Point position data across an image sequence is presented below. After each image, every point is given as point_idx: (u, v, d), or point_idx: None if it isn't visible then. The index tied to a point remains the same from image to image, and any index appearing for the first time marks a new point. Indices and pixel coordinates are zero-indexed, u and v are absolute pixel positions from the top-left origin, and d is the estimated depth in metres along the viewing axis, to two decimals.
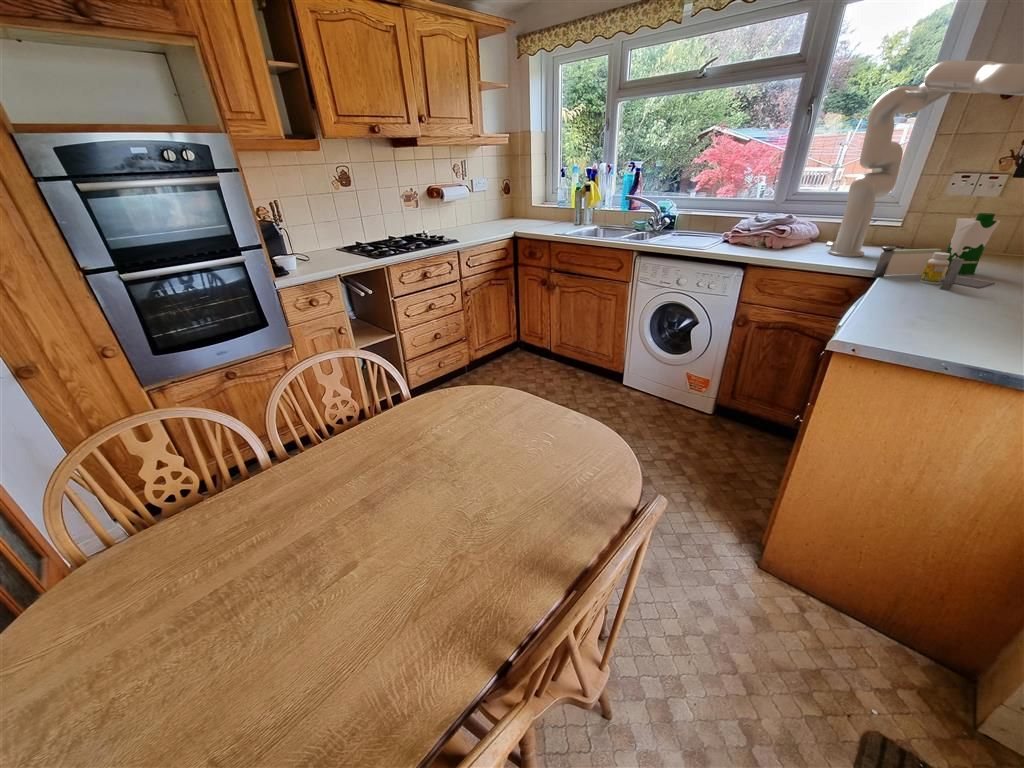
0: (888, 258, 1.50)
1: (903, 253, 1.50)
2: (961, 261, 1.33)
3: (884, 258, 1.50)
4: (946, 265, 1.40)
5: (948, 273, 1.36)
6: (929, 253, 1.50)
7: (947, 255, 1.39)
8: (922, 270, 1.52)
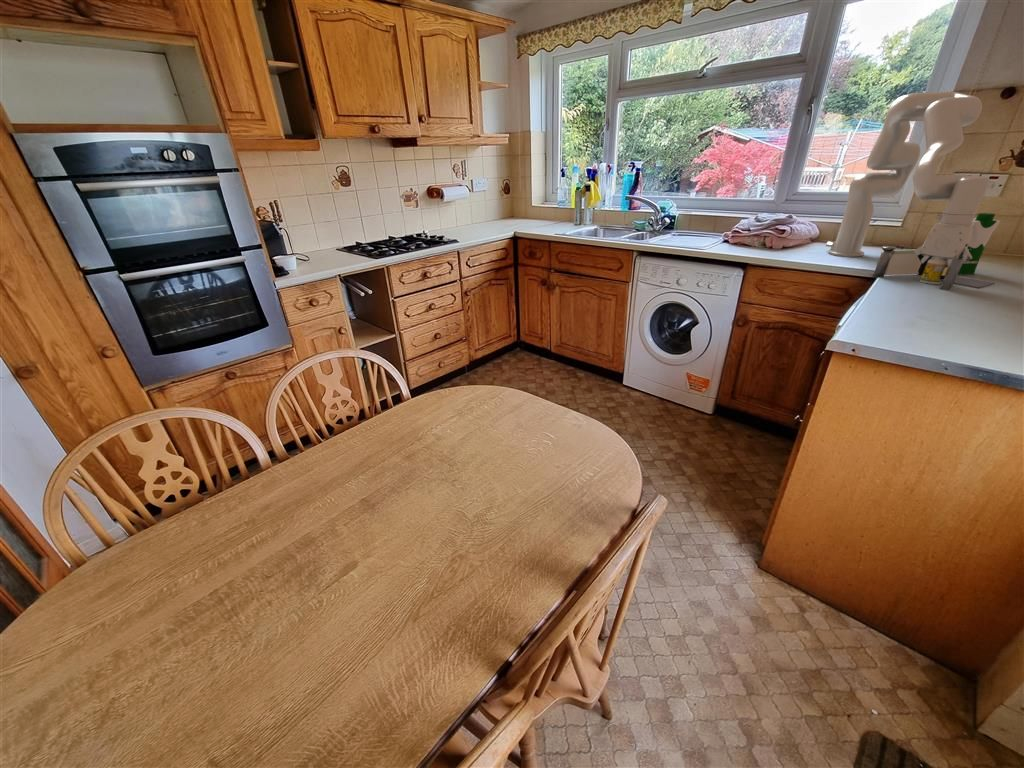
0: (888, 258, 1.50)
1: (903, 253, 1.50)
2: (961, 261, 1.33)
3: (884, 258, 1.50)
4: (946, 265, 1.40)
5: (948, 273, 1.36)
6: None
7: None
8: None
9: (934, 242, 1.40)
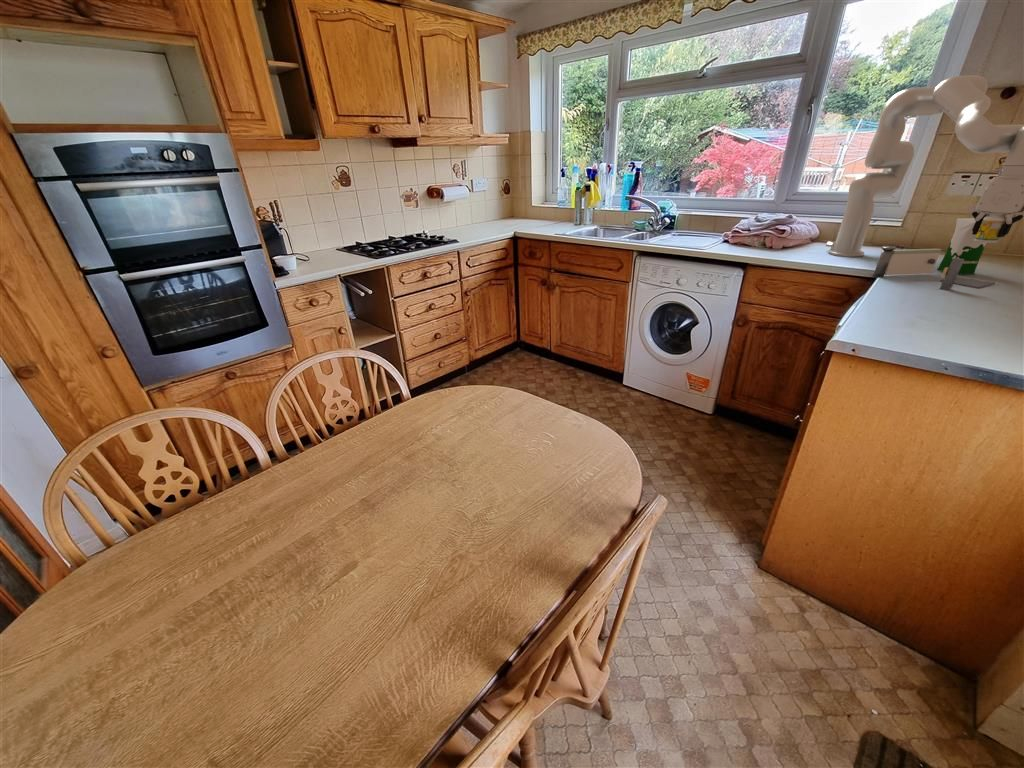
0: (888, 258, 1.50)
1: (903, 253, 1.50)
2: (961, 261, 1.33)
3: (884, 258, 1.50)
4: (1004, 222, 1.32)
5: (948, 273, 1.36)
6: (929, 253, 1.50)
7: None
8: (922, 270, 1.52)
9: (992, 197, 1.32)
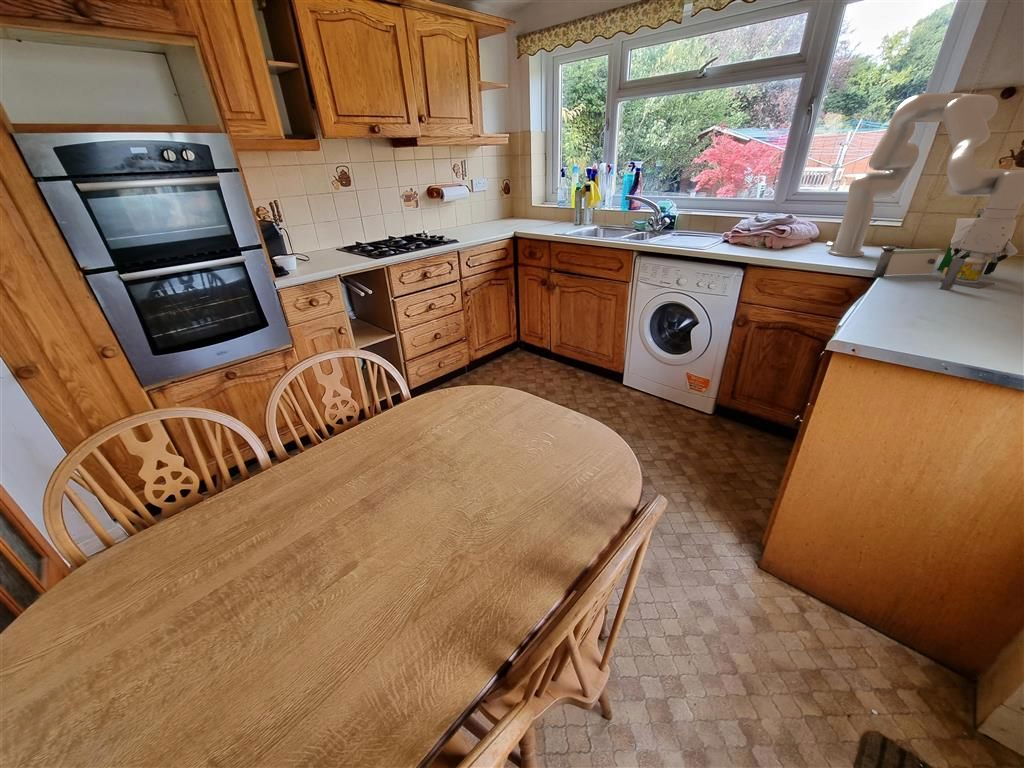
0: (888, 258, 1.50)
1: (903, 253, 1.50)
2: (961, 261, 1.33)
3: (884, 258, 1.50)
4: (984, 264, 1.38)
5: (948, 273, 1.36)
6: (929, 253, 1.50)
7: (985, 253, 1.38)
8: (922, 270, 1.52)
9: (974, 237, 1.37)
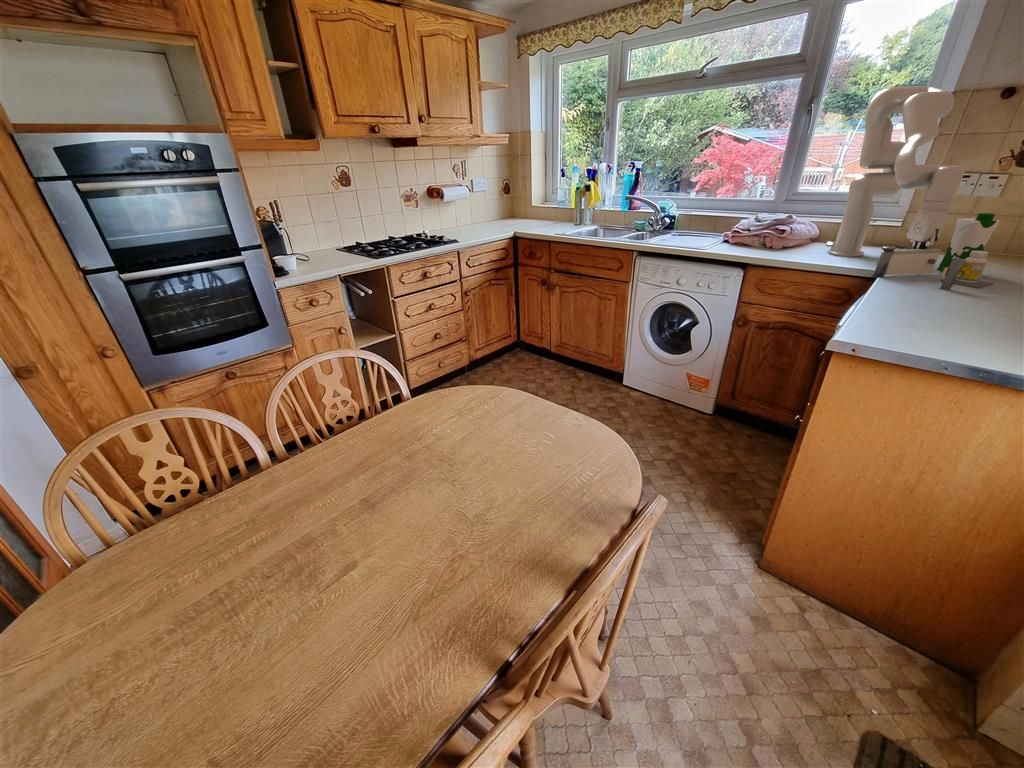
0: (888, 258, 1.50)
1: (903, 253, 1.50)
2: (961, 261, 1.33)
3: (884, 258, 1.50)
4: (984, 264, 1.38)
5: (948, 273, 1.36)
6: (929, 253, 1.50)
7: (985, 253, 1.38)
8: (922, 270, 1.52)
9: (914, 226, 1.52)
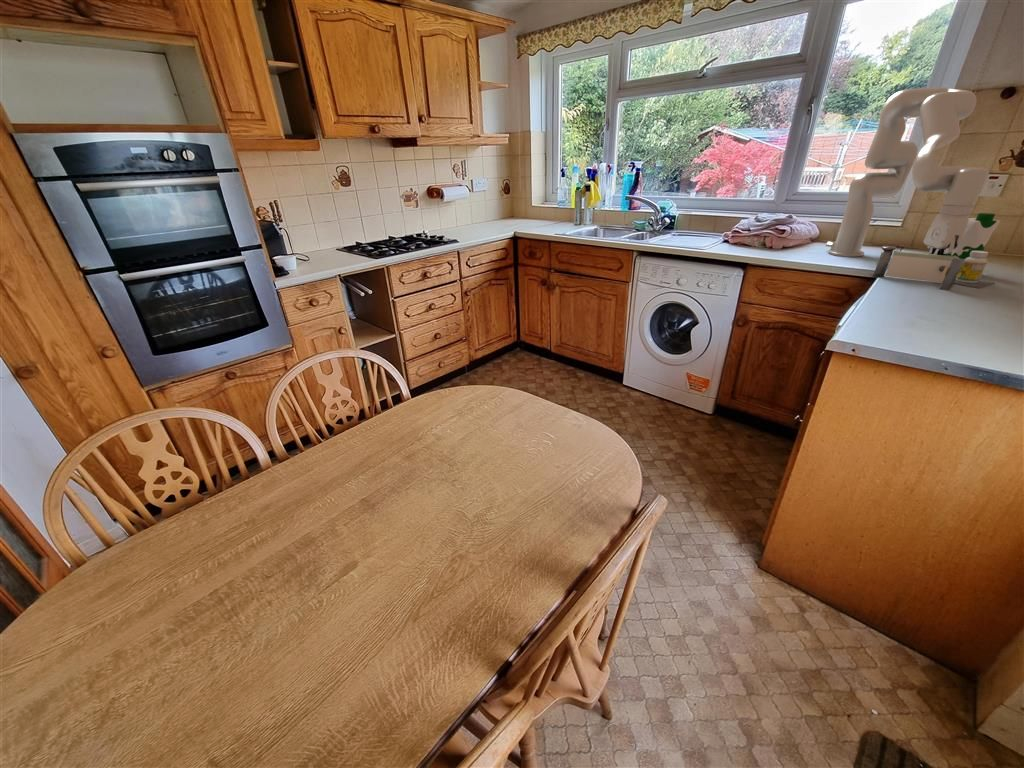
0: (888, 258, 1.50)
1: (906, 256, 1.47)
2: (961, 261, 1.33)
3: (884, 258, 1.50)
4: (984, 264, 1.38)
5: (948, 273, 1.36)
6: (940, 260, 1.41)
7: (985, 253, 1.38)
8: (933, 277, 1.44)
9: (932, 232, 1.43)
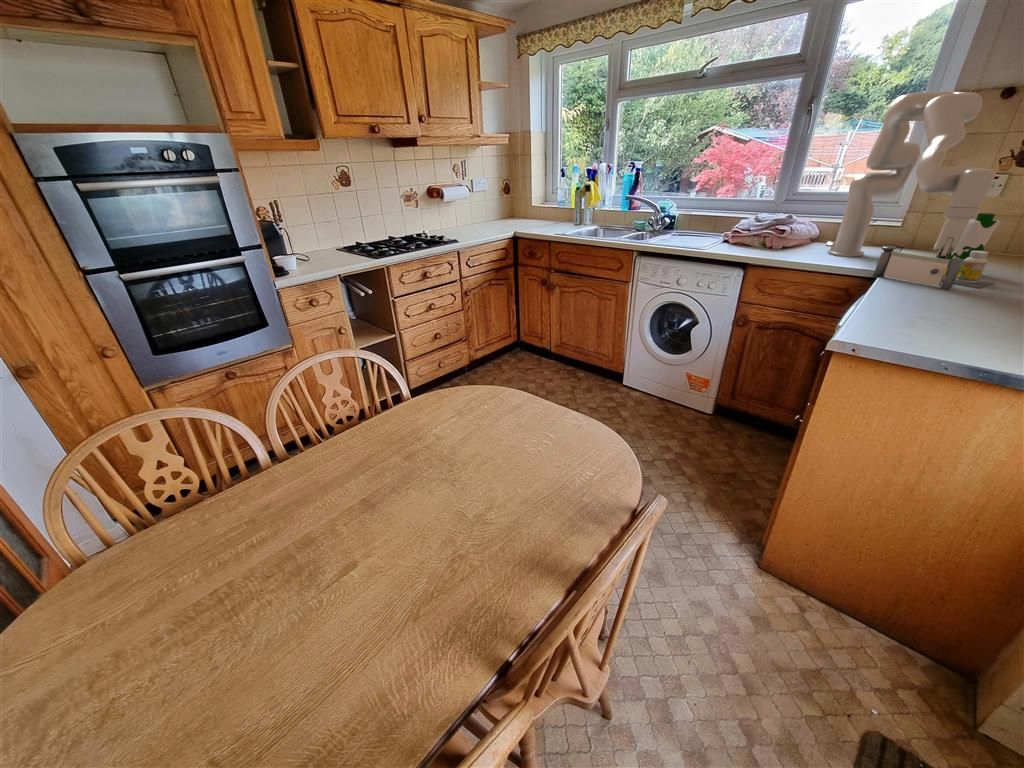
0: (888, 258, 1.50)
1: (903, 256, 1.46)
2: (961, 261, 1.33)
3: (884, 258, 1.50)
4: (984, 264, 1.38)
5: (948, 273, 1.36)
6: (934, 262, 1.39)
7: (985, 253, 1.38)
8: (926, 280, 1.41)
9: None
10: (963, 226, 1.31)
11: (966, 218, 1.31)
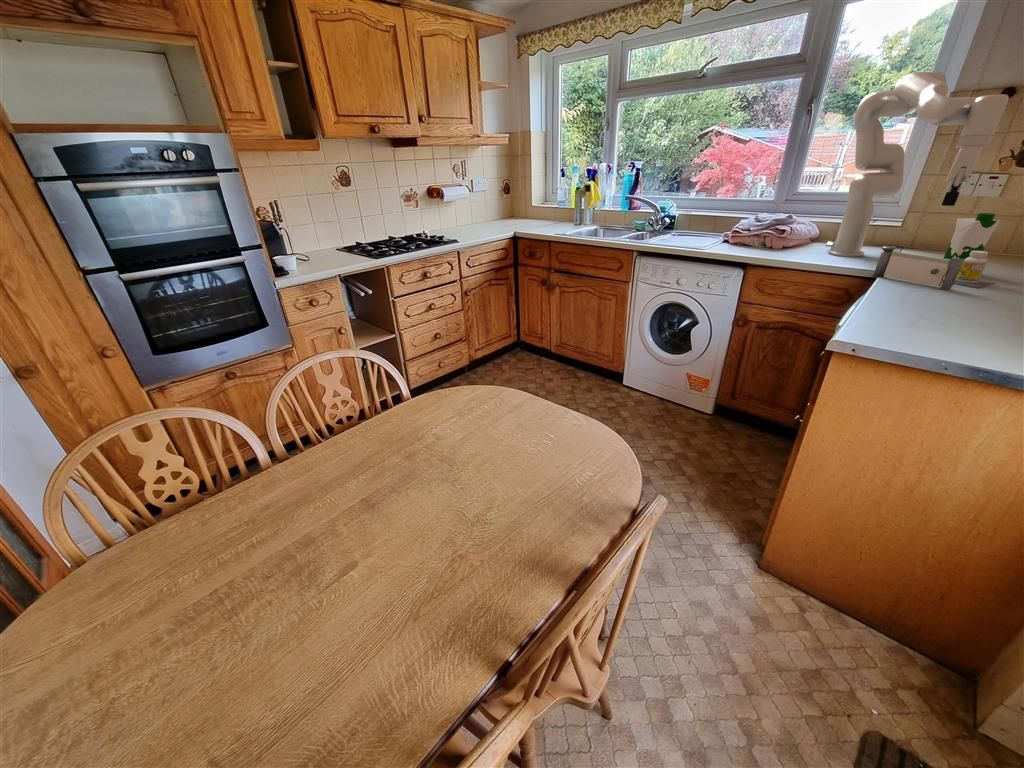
0: (888, 258, 1.50)
1: (903, 256, 1.46)
2: (961, 261, 1.33)
3: (884, 258, 1.50)
4: (984, 264, 1.38)
5: (948, 273, 1.36)
6: (934, 262, 1.39)
7: (985, 253, 1.38)
8: (926, 280, 1.41)
9: None
10: (976, 154, 1.32)
11: (979, 146, 1.32)
